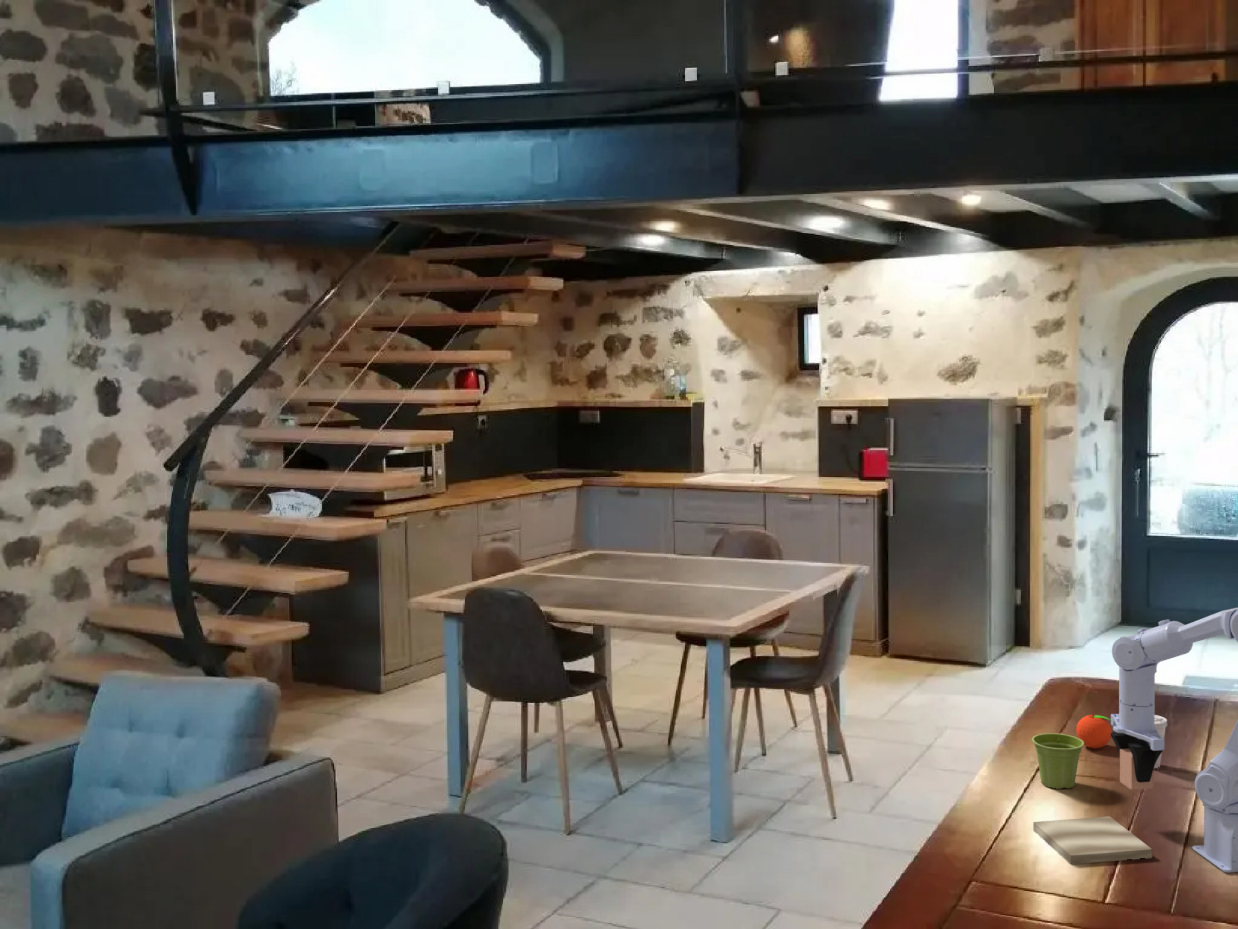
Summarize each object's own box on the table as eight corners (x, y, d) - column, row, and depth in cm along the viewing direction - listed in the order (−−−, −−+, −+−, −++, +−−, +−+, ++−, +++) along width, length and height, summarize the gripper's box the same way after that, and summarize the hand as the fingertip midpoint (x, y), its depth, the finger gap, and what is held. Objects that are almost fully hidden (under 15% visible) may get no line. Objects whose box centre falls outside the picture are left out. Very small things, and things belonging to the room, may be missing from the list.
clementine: (1114, 743, 249) (1114, 710, 249) (1119, 754, 243) (1119, 720, 242) (1074, 741, 251) (1074, 709, 251) (1078, 752, 245) (1078, 719, 244)
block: (1153, 788, 206) (1153, 755, 205) (1131, 790, 206) (1131, 756, 205) (1141, 780, 210) (1141, 747, 209) (1119, 781, 209) (1119, 749, 209)
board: (1152, 858, 194) (1152, 849, 194) (1070, 864, 193) (1070, 855, 193) (1109, 824, 208) (1109, 816, 208) (1033, 830, 207) (1033, 822, 207)
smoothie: (1170, 771, 232) (1171, 702, 230) (1136, 770, 233) (1136, 702, 232) (1162, 760, 238) (1163, 693, 237) (1129, 759, 239) (1129, 692, 238)
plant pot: (1042, 772, 234) (1042, 729, 234) (1090, 781, 228) (1090, 738, 228) (1025, 786, 227) (1024, 743, 226) (1074, 796, 221) (1074, 752, 220)
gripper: (1094, 691, 213) (1094, 764, 214) (1136, 716, 199) (1136, 793, 200) (1132, 689, 214) (1131, 761, 215) (1176, 713, 199) (1175, 790, 201)
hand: (1136, 777), depth 208 cm, fingers closed on block, 4 cm apart
